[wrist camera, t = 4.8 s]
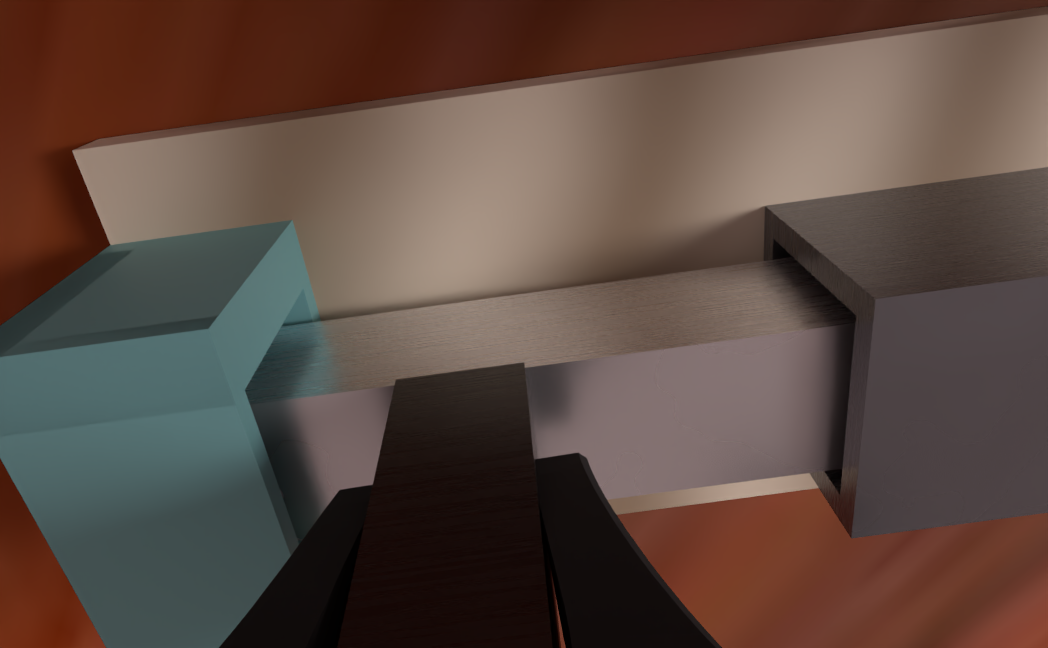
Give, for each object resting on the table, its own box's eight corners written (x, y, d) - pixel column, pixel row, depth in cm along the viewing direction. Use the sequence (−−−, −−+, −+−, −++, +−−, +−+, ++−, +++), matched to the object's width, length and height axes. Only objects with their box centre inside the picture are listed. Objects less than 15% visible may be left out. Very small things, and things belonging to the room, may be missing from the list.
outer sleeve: (1152, 152, 14) (1418, 225, 10) (1099, 351, 16) (1304, 478, 12) (765, 205, 14) (875, 298, 10) (760, 397, 16) (851, 537, 12)
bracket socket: (292, 219, 14) (208, 328, 9) (367, 485, 16) (328, 659, 12) (110, 244, 14) (-53, 364, 9) (217, 506, 16) (127, 685, 12)
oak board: (1147, -8, 13) (1194, -7, 13) (1043, 430, 18) (1072, 454, 17) (98, 139, 14) (71, 150, 13) (252, 534, 18) (240, 564, 17)
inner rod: (912, 236, 13) (1441, 563, 6) (896, 372, 15) (1312, 779, 7) (178, 335, 14) (-191, 774, 6) (226, 462, 15) (-28, 947, 8)
